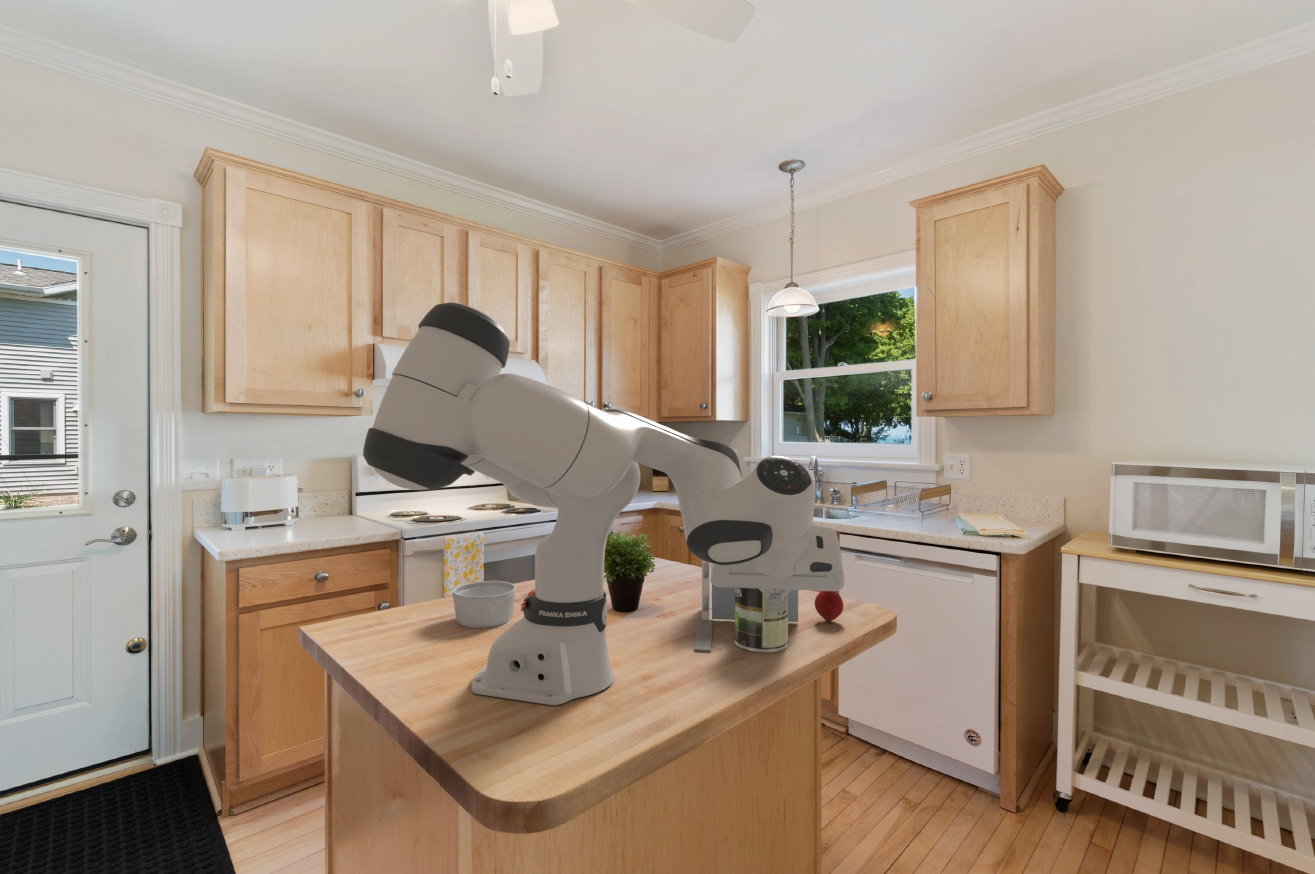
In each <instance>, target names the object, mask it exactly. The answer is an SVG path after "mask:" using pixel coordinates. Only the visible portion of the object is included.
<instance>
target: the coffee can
mask: <svg viewBox="0 0 1315 874" xmlns="http://www.w3.org/2000/svg"><path fill="white" fill-rule="evenodd" d="M788 635H789V622H788V594H786V595H784V600H765V594H764V593H762V592H761V591H760V590H759V588H735V620H734V640H733V642H734V644H735V646H736V647H738V648H740V649H742V650H745V651H747V652H751V653H758V654H759V653H761V654H771V653H773V654H774V653H779V652H783V651H785V650H786V649H788V647H789V636H788Z"/></svg>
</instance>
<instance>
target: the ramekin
mask: <svg viewBox="0 0 1315 874" xmlns="http://www.w3.org/2000/svg"><path fill="white" fill-rule="evenodd" d="M451 595H452V599H453V605H454V614H455V619H456V621H457V622H458V624H459V625H460V626H462V627H466V628H472V629H484V628H493V627H497V626H501V625H504V624H506V623H508V622H509V621H510V619H511V618H512V616H513V614H514V608H515V607H514V606H515V601H516V595H517V586H516V585H515V584H514V583H512V582H508V581H502V580H485V581H484V580H483V581H474V582H473V581H472V582H467V583H463V584H461V585H458V586H455V588H454V589H453V590H452V594H451Z"/></svg>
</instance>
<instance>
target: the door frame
mask: <svg viewBox="0 0 1315 874" xmlns="http://www.w3.org/2000/svg"><path fill="white" fill-rule="evenodd" d="M711 610H712V583H711V563H710V562H707V561H704V560H702V559H701V619H700V618H699V619H698V621H697V629H696V635H695V643H694V652H699V653H700V652H701V653H704V652H705V653H711V652H712V642H713V641H712V639H713V621H714V619H710V618H711Z"/></svg>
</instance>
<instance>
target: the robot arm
mask: <svg viewBox="0 0 1315 874" xmlns="http://www.w3.org/2000/svg"><path fill="white" fill-rule="evenodd" d="M417 327H418V329H419V330H418V331H417V332H416V334H414V336H413V337H412V339H411V341H409V343H408V345H407V347H406V349H405V350H404V352H402V355H401V356H400V358H399V360H398V361H397V363H396V364H395V365H396V366H395V367H394V369H393V371H392V373H391V376H392V377H391V379H390V381H389V383H388V385H387V386H386V387H387V388H386V390H385V392H384V394H383V396H382V400H381V402H380V404H379V408H378V410H377V413H376V414H375V418H374V421H373V425H372V427H369V428H368V429H367V433H366V435H365V440H364V445H363V449H362V450H363V452H362V457H363V458H364V460H365V462H366V463H367V465H368V466H370V467H372V468H373V469H374V471H375V472H376V473H377V474H378V475H379V476H380V477H381V478H383V479H384V480H386V481H387V482H389V483H390V484H392V485H394V486H396V487H399V488H402V489H407V490H412V491H413V490H414V491H424V490H431V491H436V490H439V489H442V488H445V487H448V486H451V485H452V484H454V483H455V482H456V481H458V479H460V478H461V477H462V476H463V475H468V476H470V477H471V476H472V475H474V474H475V473H476V472H478V473H480V474H482V475H485V476H487V477H488V478H491V479H493V480H495V481H497V482H500V483H501V484H502V485H504V487H505V489H506V491H507V492H508V493H509V494H510V495H511V496H512V497H513V498H515V499H518V500H520V501H522V502H525V503H528V504H530V505H533V506H535V507H536V506H537V507H545V508H552V509H553V508H555V509H557V516H556V517H557V518H556V521H555V525H554V527H553V530H552V531H551V532H550V533H549V534H547V535H546V536H545V537H543V538H542V539H541V540H540V541H539V542H538V543H537V546H536V548H535V552H534V588H533V589H531V591H529V592H528V593H527V597H525V598H524V599H523V602H522V603H521V604H520V607H521V608H520V611H521V612H523V615H524V616H523V617H522V618H520V619H519V620H518V621H516V622H515V623H514V624H512V625H511V626H510V627H509V628H508V629H506V630H505V631H504V632H503V633H502V634H500V635H499V636H498V637H497V638H496V639H495V640H494V642H493V643H492V644H491V647H490V650H489V653H488V656H487V661H486V664H485V665H483V666H482V667H481V668H480V669H479V670H478V671H477V672H476V673H475V674H474V676H473V678H472V680H471V687H470V688H471V689H470V690H471V692H472V693H473V694H476V695H480V696H481V695H483V696H487V697H489V696H490V697H493V698H494V697H495V698H502V699H508V700H514V701H515V700H517V701H523V702H529V703H535V704H541V705H549V706H560V705H562V704H565V703H568V702H570V701H573V699H578V698H582V697H586V696H587V697H588V696H590V695H595V694H596V693H600V692H601V691H603V690H605V689H607V688H608V687H609V686H611V685H612V683H613V682H614V679H615V677H614V672H613V670H612V665H611V661H610V656H609V650H608V645H607V637H606V627H607V624H608V602H607V592H606V591H605V590H604V589H605V588H604V587H605V585H604V584H605V583H604V582H605V581H604V580H605V552H606V546H607V540H608V537H609V534H610V531H611V528H612V526H613V525H614V523H615V520H616V518H617V517H618V516H619V514H621V512H622V511H623V510H624V509H625V508H626V507H628V506H629V505H630V504H631V503H632V502H633V500H634V499H635V497H636V495H637V494H638V491H639V489H640V484H641V471H640V470H641V469H640V464H641V465H643V466H646V467H648V468H651V469H654V470H656V471H659V472H662V473H665V474H666V475H667V476H668V478H669V479H670V480H671V482H672V485H673V487H674V490H675V492H676V496H677V501H678V505H679V509H680V515H681V521H682V528H683V533H684V537H685V542H686V547H687V549H688V550H689V551H690V553H691V554H693V555H694V556H695V557H696V558H698V559H700V560H701V561H702V560H704V561H707V562H710V563H711V585H712V584H713V585H714V586H716V587H731V588H759V590H760V591H761V592H762V593H764V594H765V600H784V595H786V594H788V593H789V592H791V591H792V590H798V591H819V592H820V591H836V592H839V591H840V590H842V589H843V588H844V587H845V571H844V570H845V569H844V564H843V557H842V551H841V548H840V542H839V538H838V535H837V532H836V531H837V530H835V529H834V528H831V527H827V526H822V525H818V524H814V523H813V521H814V515H815V502H816V501H815V499H816V498H815V495H816V494H815V486H814V481H813V478H812V476H811V475H810V473H809V472H808V470H807V469H806V467H804V465H802V464H801V463H800V462H798V461H797V460H795V459H792V458H790V457H787V456H783V455H771V456H767V457H765V458H762V459H761V460H760V461H758V463H757V464H756V465H755V466H754V468H753V470H752V471H751V472H750V473H749V474H748V475H746V476H745V477H744V478H743V474H742V470H741V464H740V461H739V457H738V454H737V453H736V452H735V450H733V448H731V447H730V446H728V445H726V444H724V443H722V442H718V441H714V440H709V439H702V438H697V437H693V436H689V435H687V434H685V433H683V432H682V433H681V432H680V431H676V430H675V429H673V428H670V427H668V426H665V425H663V424H660V423H658V422H656V421H653V420H651V419H648V418H646V417H643V416H641V415H639V414H636V413H633V412H630V411H626V410H622V409H618V408H615V409H614V408H608V409H601V408H597V407H595V406H593V405H591V404H589V403H587V402H585V401H583V400H581V399H580V398H577V397H575V396H574V395H572V394H569V393H567V392H566V391H563V390H562V389H561V390H560V389H559V388H556V387H553V386H551V385H549V384H546V383H543V382H541V381H538V380H535V379H533V378H529V377H526V376H523V375H519V374H516V373H501V372H502V369H504V368H505V367H506V364H507V362H508V357H509V352H510V344H511V342H510V340H509V337H508V334H507V333H506V330H505V329H504V328H503V327H502V325H500V324H499V323H498V322H497V321H495V320H494V319H493V318H492V317H491V316H490V315H488V314H487V313H485V312H483V311H482V310H480V309H478V308H475V307H471V306H469V305H464V304H461V303H458V302H457V303H456V302H450V301H449V302H445V303H439V304H435V305H434V306H433V307H432V308H431V309H430V310H429V311H428V312H427V313H426V314H425V315H424V317H423V318H422V319H421V321H420V322H419V324H418V326H417Z"/></svg>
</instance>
